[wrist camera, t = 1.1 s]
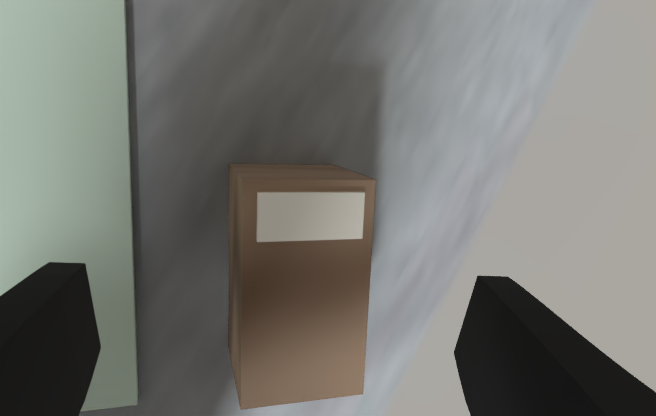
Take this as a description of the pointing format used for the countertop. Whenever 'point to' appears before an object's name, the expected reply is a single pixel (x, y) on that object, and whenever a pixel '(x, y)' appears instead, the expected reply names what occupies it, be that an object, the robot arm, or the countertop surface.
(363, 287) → the labeled brown box
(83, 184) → the sage mat
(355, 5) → the countertop surface
